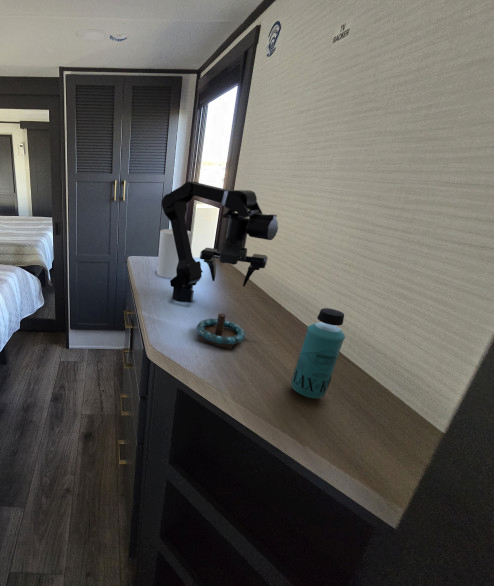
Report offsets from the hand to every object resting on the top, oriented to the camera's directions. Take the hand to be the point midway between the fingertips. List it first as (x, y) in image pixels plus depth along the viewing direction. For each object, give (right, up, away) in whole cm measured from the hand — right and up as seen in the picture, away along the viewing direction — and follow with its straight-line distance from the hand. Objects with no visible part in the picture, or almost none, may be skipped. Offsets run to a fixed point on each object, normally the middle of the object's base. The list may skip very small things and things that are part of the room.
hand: (228, 283), depth 99 cm
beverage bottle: (+4, -25, -31) cm, 40 cm away
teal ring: (-6, -14, -10) cm, 18 cm away
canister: (-7, +6, +48) cm, 49 cm away
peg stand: (-6, -16, -9) cm, 19 cm away
